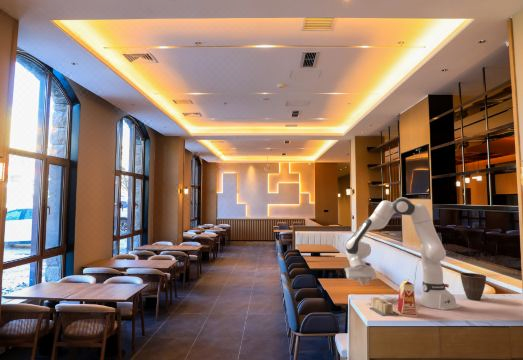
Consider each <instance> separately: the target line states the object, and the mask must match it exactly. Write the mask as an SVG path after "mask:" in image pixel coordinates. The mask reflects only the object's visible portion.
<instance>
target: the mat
mask: <svg viewBox="0 0 523 360" xmlns="http://www.w3.org/2000/svg"><path fill="white" fill-rule="evenodd" d="M369 310H371V311H373V312H375V313H376V314H378V315H380V316H382V317H384V316H388V317H389V316H399V312H395V311H394V310H393V313H388V314H385V313H383V312H381V311H379V310H377V309H375V308H374V307H372V306H369Z"/></svg>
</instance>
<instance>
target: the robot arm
mask: <svg viewBox="0 0 523 360" xmlns="http://www.w3.org/2000/svg"><path fill="white" fill-rule="evenodd" d="M394 214H399V215H401V216H410V218H411V221H412V224H413V226H414V231H415V233H416V236H417V237H418V239H419V241H420V243H421V244H420V246H419V247H420V248H419V251H420V259H421V264H422V279H423V281H422V297H421V302H420V305H421V306H424V307H426V308H430V309H435V310H437V309H438V310H443V311H448V310H453V309H459V308H460V309H461V305H460V304H459V303H457V302H456V297H455V295H454V294H452V293H451V292H449V291H448V290H447V289H448V288H450V285H449V284H447V283H444V275H443V274H444V273H443V272H444V271H443V267H442V264H441V261H442V260H444V259H446V255H447V251H446V249H445V247H444V245H443V243H442V242H441V239H440V237H439V235H438V233H437V231H436V228H435V226H434V223H433V219H432V217H431V214H430V213H429V210H428V208H427V206H426V205H424V204H422V203H416V204H413V203H412V201H411V200H410V199H408V197H405V196H404V197H398V198H396V200H394V201H391V200H386V199H385V200H382V201H380V202H379V204H378V205H377V206H376V208H375V209H374V211H373V212H372V214H371V215H370V216H369V217H368V218H367V219H365V220H364V221H363V222H362V223H361V224H360V225H359V227H358V228H357V229H356V231H355V232H354V233H353V235H352V236H351V237H349V239H348V240H347V241H346V243H345V249H344V250H345V256H346V258H347V261H349V262H348V263H349V266H345V267H344V269H343V270H344V272H345V276H346V279H347V280H348V281H357V282H358V283H359V285H360V286H364V284H365V285H366V286H369V285H370V282H369V281H370V280H375V279H376V278H377V276H378V275H377V272H376V271H375V268H374V267H372V263H370V262H367V261H364V260H363V259H366V258H367V257H368V256H370V254H371V251H372V249H371V245H370V244H369V243H367V242H364V241H362V239H363V238H364V237H365V236H366V234H367V233H368V232H370V231H373V230H380V229H381V230H382V229H384V228H385V227H386V226H387V225H388V223H389V221H390V220H391V218H392V217H393V215H394ZM363 280H365V281H366V282H364V281H363Z"/></svg>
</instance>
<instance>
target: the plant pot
mask: <svg viewBox="0 0 523 360" xmlns="http://www.w3.org/2000/svg"><path fill="white" fill-rule="evenodd" d="M459 274H460V280H461V285H462V288H463V292H464V294H465V297H466V298H467V300H470V301H478V302H479V301H481V299H482V296H483V294H484V291H485V288H486V287H485V286H486V282H487V276H486V274H485V275H484V274H481V273H473V272H461V273H459Z"/></svg>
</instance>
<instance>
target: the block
mask: <svg viewBox="0 0 523 360" xmlns="http://www.w3.org/2000/svg"><path fill="white" fill-rule="evenodd" d="M370 307H374V308H375V309H377V310H379V311H381V312H383V313H385V314H388V313H393V311H394V306H393V303H391V302H389V301H387V300H385V299H384V298H381V297H375V296H374V297H370Z"/></svg>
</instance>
